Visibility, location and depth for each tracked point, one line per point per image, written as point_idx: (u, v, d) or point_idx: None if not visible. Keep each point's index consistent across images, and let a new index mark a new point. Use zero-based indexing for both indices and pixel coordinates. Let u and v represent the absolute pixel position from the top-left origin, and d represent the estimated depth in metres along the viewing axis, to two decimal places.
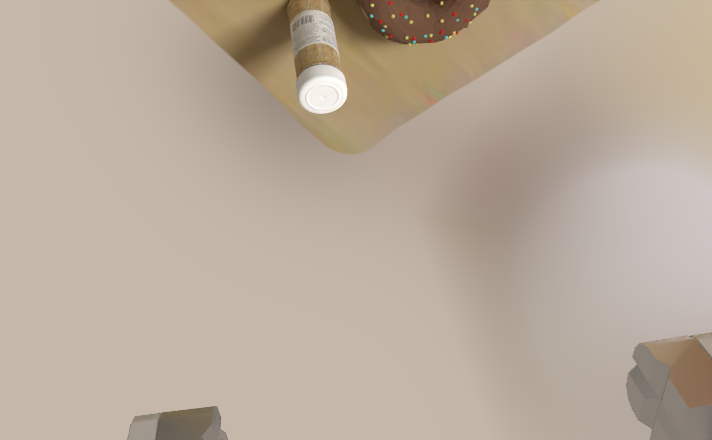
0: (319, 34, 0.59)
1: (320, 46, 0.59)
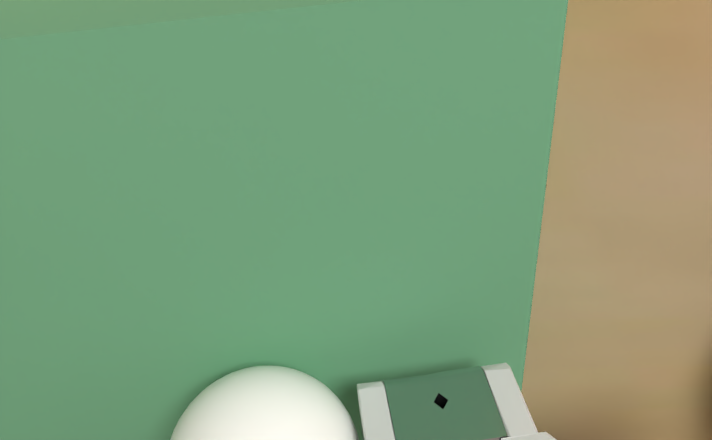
0: None
1: None
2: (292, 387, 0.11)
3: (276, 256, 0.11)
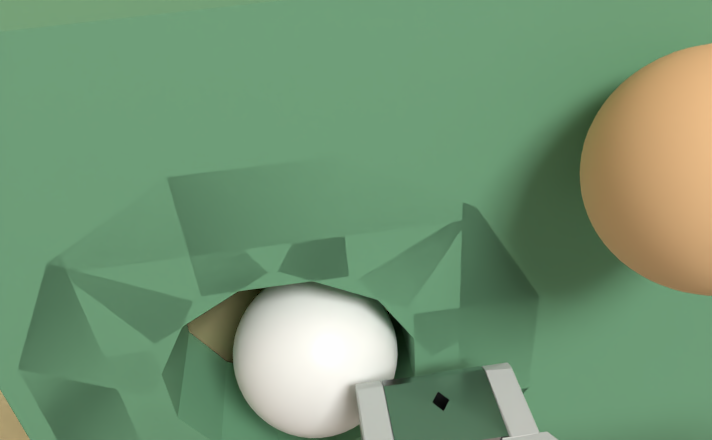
0: None
1: None
2: (334, 311, 0.12)
3: None
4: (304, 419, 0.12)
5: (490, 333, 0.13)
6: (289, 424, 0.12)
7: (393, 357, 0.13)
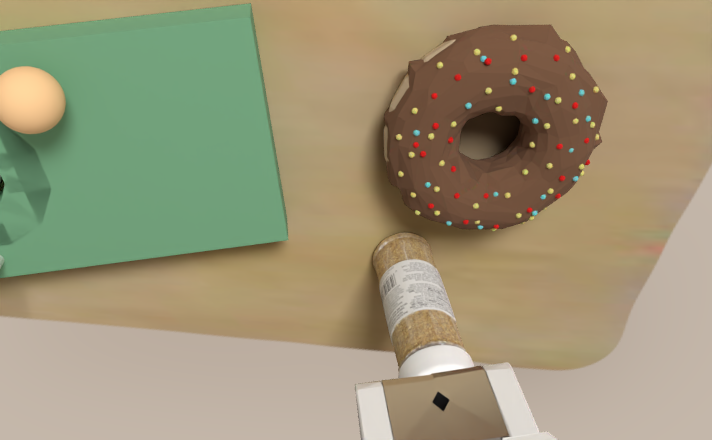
0: (405, 301, 0.41)
1: (410, 321, 0.39)
2: None
3: (179, 99, 0.36)
4: None
5: (23, 163, 0.37)
6: None
7: None
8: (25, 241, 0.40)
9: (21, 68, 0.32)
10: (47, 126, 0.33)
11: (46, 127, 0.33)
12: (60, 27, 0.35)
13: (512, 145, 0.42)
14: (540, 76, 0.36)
